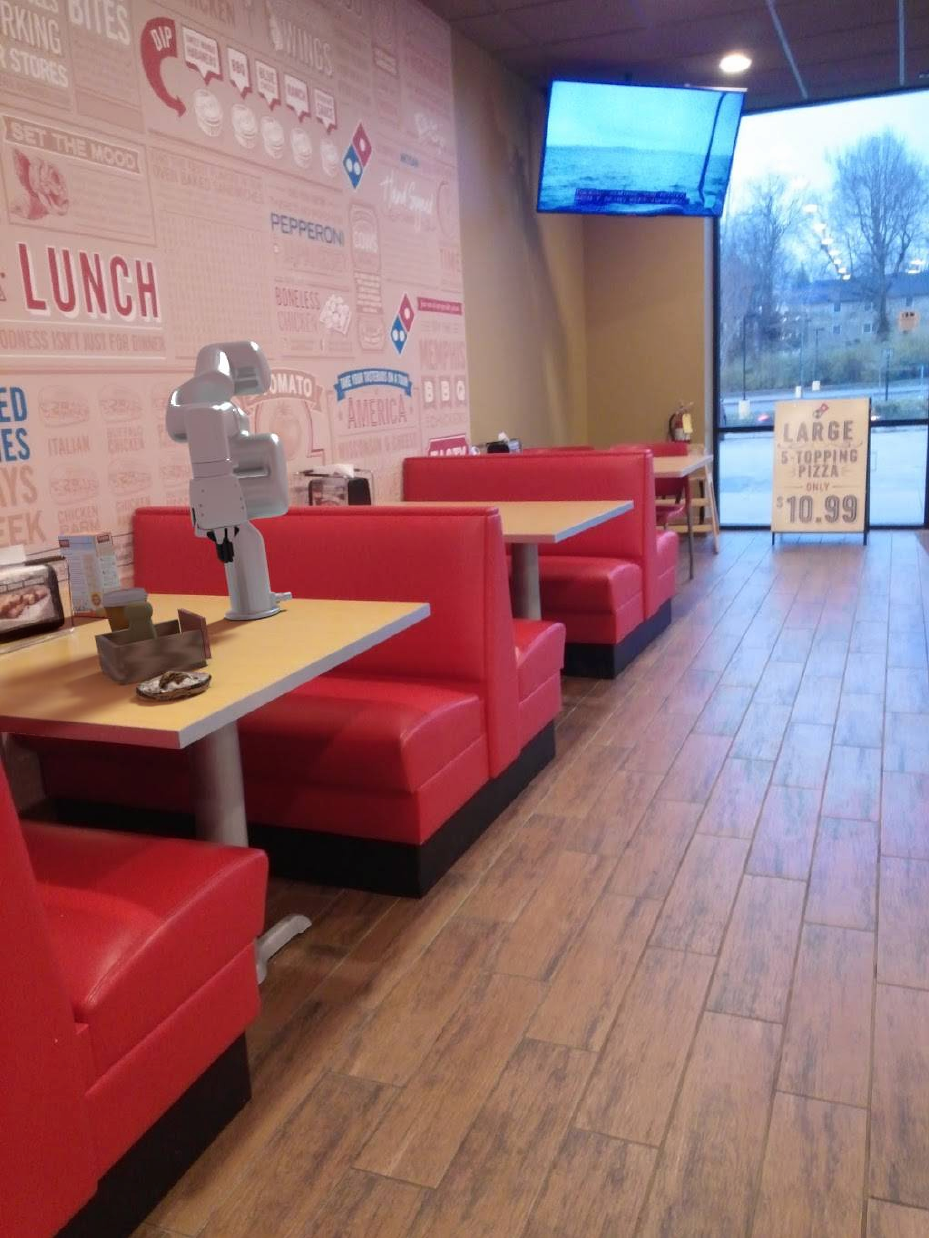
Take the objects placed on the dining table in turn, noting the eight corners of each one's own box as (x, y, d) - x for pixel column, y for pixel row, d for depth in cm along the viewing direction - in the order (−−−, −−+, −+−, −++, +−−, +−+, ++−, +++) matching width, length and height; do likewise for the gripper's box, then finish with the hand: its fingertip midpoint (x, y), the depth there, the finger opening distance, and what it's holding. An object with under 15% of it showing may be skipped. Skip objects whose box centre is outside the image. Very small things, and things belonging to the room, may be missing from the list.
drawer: (189, 646, 198) (182, 608, 196) (212, 658, 186) (205, 617, 184) (108, 664, 189) (101, 624, 188) (127, 677, 178) (120, 635, 176)
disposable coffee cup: (165, 641, 209) (156, 586, 207) (137, 653, 200) (127, 596, 198) (128, 642, 212) (119, 587, 210) (99, 653, 204) (89, 597, 201)
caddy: (182, 652, 198) (176, 618, 196) (206, 665, 185) (201, 629, 184) (101, 670, 189) (94, 635, 188) (121, 685, 177) (114, 647, 175)
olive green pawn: (153, 662, 183) (143, 604, 180) (124, 663, 184) (113, 606, 182) (168, 653, 189) (159, 597, 186) (140, 654, 190) (130, 599, 187)
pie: (185, 677, 180) (181, 655, 179) (236, 686, 171) (233, 663, 170) (113, 700, 169) (109, 677, 168) (164, 711, 160) (160, 686, 159)
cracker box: (127, 613, 246) (112, 530, 241) (107, 618, 241) (91, 534, 236) (91, 611, 254) (76, 531, 249) (71, 616, 249) (56, 535, 244)
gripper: (241, 463, 198) (254, 552, 203) (168, 474, 190) (184, 566, 195) (255, 465, 192) (269, 557, 197) (181, 477, 184) (197, 571, 189)
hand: (226, 561), depth 196 cm, fingers closed
